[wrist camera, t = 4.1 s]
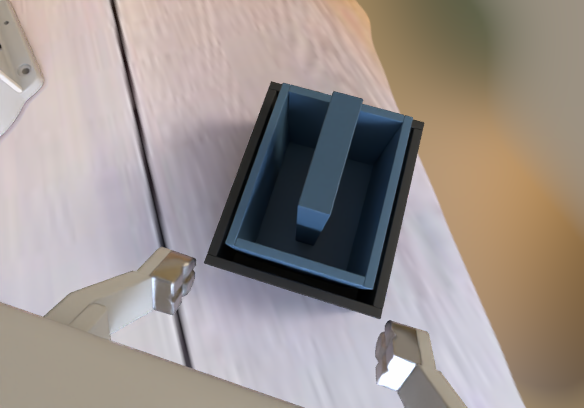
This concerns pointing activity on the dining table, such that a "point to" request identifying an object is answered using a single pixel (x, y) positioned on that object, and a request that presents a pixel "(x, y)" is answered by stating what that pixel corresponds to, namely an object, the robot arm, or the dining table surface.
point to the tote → (344, 297)
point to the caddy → (322, 187)
